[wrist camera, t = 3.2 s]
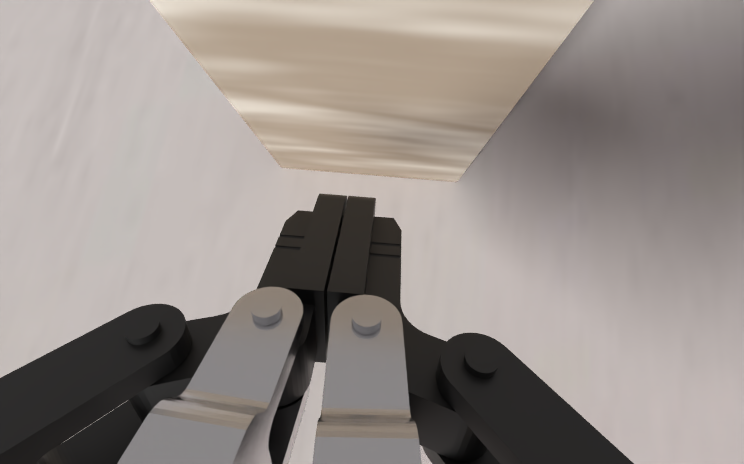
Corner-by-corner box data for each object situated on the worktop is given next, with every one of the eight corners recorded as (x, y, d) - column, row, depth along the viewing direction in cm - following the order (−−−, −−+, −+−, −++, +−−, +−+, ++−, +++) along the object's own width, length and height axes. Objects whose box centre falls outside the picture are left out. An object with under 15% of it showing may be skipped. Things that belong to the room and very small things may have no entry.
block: (289, 101, 23) (94, -315, 7) (461, 115, 23) (655, -286, 7) (281, 167, 22) (50, -125, 7) (457, 181, 22) (659, -86, 6)
